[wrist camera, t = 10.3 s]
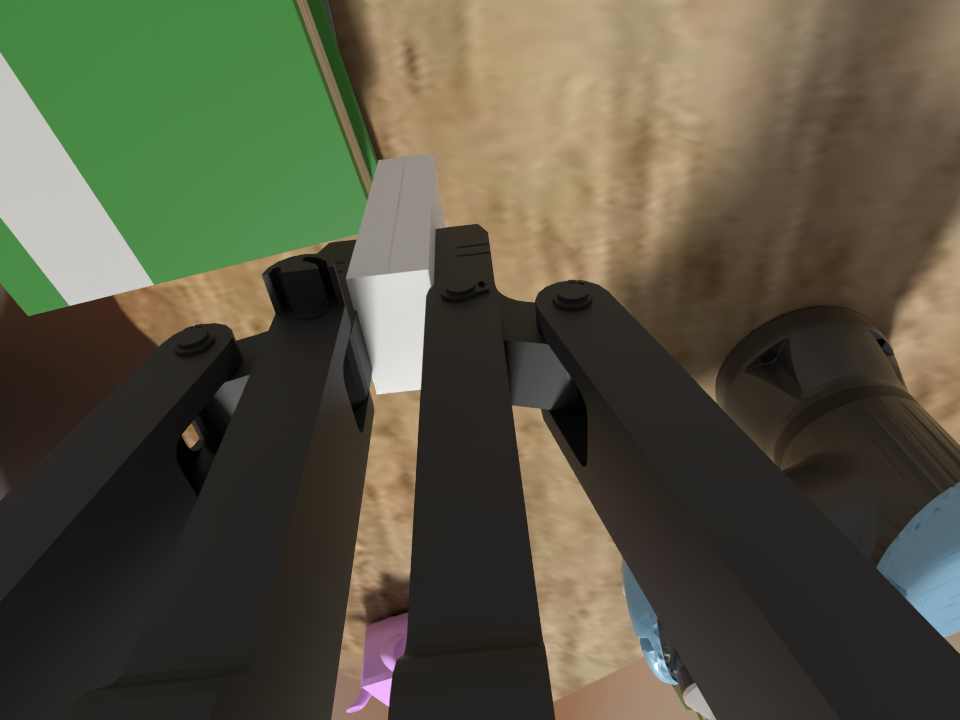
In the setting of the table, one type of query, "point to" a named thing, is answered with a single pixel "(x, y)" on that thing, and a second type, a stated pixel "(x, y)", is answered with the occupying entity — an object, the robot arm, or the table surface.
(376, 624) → the teapot
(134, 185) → the hardback book
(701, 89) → the table surface
